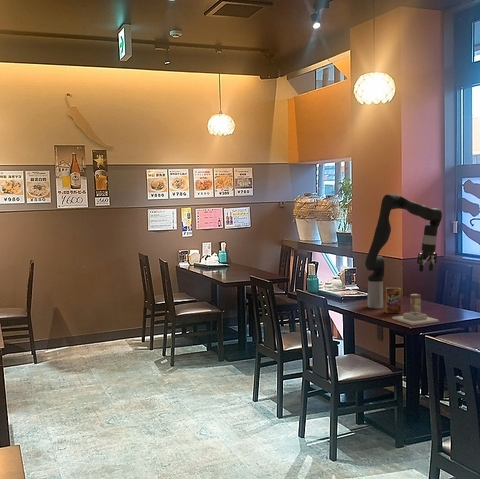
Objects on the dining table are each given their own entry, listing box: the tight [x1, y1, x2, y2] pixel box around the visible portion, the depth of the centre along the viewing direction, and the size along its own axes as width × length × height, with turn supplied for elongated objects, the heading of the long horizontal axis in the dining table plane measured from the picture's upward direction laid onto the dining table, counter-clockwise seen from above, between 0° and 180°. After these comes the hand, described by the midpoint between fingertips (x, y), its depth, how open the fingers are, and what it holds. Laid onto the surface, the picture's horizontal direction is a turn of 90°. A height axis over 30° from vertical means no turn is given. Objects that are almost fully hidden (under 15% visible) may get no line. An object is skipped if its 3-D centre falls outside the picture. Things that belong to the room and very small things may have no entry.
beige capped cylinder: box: [409, 293, 422, 313], centre depth 348 cm, size 4×4×12 cm
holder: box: [391, 312, 439, 326], centre depth 332 cm, size 18×18×4 cm
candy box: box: [384, 287, 402, 314], centre depth 355 cm, size 9×4×15 cm, turn 81°
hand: (425, 271), depth 331 cm, fingers open, 8 cm apart
